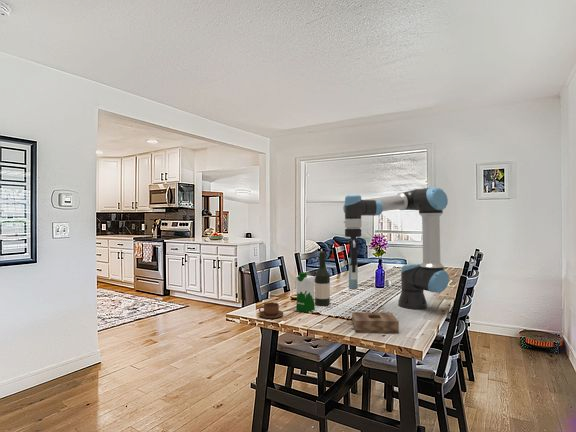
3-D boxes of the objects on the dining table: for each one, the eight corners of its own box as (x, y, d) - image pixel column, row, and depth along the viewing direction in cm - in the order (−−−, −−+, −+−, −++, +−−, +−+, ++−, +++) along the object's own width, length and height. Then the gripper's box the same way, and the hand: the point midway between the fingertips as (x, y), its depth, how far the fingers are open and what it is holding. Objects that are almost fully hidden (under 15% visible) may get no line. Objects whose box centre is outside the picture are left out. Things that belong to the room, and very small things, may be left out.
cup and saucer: (267, 321, 174) (267, 308, 174) (254, 316, 184) (254, 303, 184) (288, 317, 181) (288, 305, 181) (275, 312, 191) (275, 300, 191)
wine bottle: (329, 307, 202) (329, 252, 202) (313, 306, 203) (313, 251, 203) (330, 303, 210) (330, 250, 210) (315, 302, 211) (315, 250, 212)
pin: (357, 287, 173) (357, 258, 173) (357, 289, 169) (357, 259, 169) (348, 287, 174) (348, 258, 174) (349, 289, 170) (348, 259, 170)
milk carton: (293, 310, 194) (293, 272, 194) (304, 307, 201) (304, 270, 201) (306, 313, 188) (306, 274, 188) (317, 310, 195) (317, 272, 195)
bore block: (391, 323, 169) (391, 312, 170) (398, 333, 156) (398, 321, 156) (352, 323, 171) (352, 312, 171) (355, 332, 157) (355, 320, 157)
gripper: (343, 227, 180) (344, 275, 180) (345, 228, 164) (346, 281, 163) (359, 227, 180) (359, 275, 180) (363, 228, 163) (363, 281, 163)
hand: (353, 278), depth 172 cm, fingers closed on pin, 4 cm apart
